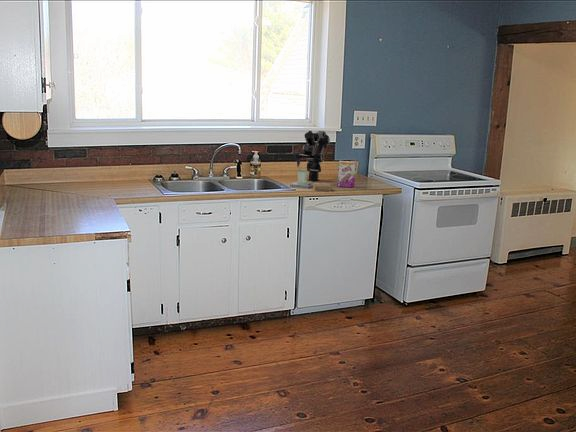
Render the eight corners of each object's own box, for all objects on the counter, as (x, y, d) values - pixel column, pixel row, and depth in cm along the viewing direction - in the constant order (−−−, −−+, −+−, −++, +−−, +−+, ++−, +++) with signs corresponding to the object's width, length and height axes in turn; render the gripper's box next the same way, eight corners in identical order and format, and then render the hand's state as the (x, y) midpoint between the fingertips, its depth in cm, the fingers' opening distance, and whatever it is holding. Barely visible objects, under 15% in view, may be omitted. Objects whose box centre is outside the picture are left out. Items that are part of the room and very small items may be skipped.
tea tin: (299, 182, 377) (299, 169, 375) (306, 183, 375) (307, 169, 373) (297, 183, 373) (297, 169, 371) (304, 184, 371) (305, 170, 369)
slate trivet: (295, 183, 382) (296, 181, 381) (313, 185, 378) (313, 183, 378) (290, 186, 370) (290, 184, 370) (308, 188, 367) (308, 186, 366)
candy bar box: (336, 186, 378) (338, 161, 374) (337, 185, 382) (338, 160, 379) (354, 187, 377) (356, 162, 373) (354, 186, 381) (356, 161, 378)
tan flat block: (312, 188, 368) (312, 183, 368) (328, 188, 369) (328, 183, 369) (314, 190, 360) (314, 185, 360) (330, 190, 362) (330, 186, 361)
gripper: (294, 139, 379) (288, 158, 371) (322, 141, 373) (316, 160, 366) (297, 150, 388) (291, 169, 380) (324, 152, 382) (319, 171, 375)
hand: (304, 167), depth 375 cm, fingers open, 9 cm apart
